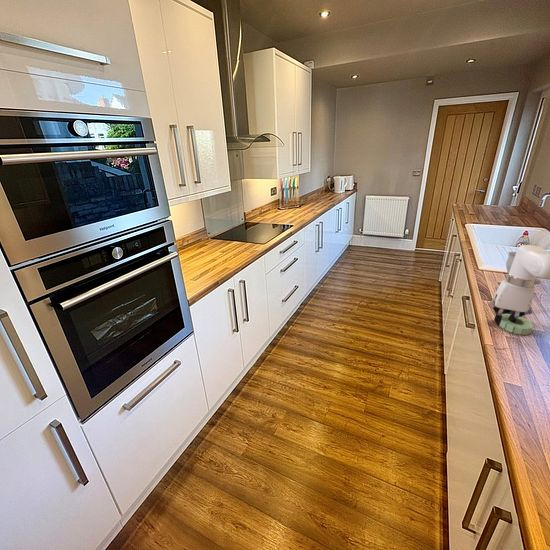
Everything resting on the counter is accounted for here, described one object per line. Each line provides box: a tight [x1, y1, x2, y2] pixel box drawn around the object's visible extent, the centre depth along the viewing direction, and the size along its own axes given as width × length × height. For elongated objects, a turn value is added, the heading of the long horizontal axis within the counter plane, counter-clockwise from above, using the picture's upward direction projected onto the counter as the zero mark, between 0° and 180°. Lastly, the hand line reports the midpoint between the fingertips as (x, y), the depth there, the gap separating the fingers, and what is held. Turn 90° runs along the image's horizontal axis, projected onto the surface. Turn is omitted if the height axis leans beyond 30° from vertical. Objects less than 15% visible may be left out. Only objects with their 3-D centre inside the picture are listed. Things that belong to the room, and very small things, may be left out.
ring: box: [498, 314, 535, 336], centre depth 107 cm, size 10×10×3 cm
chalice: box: [505, 251, 517, 274], centre depth 129 cm, size 7×7×18 cm
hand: (503, 323), depth 109 cm, fingers closed on ring, 3 cm apart
